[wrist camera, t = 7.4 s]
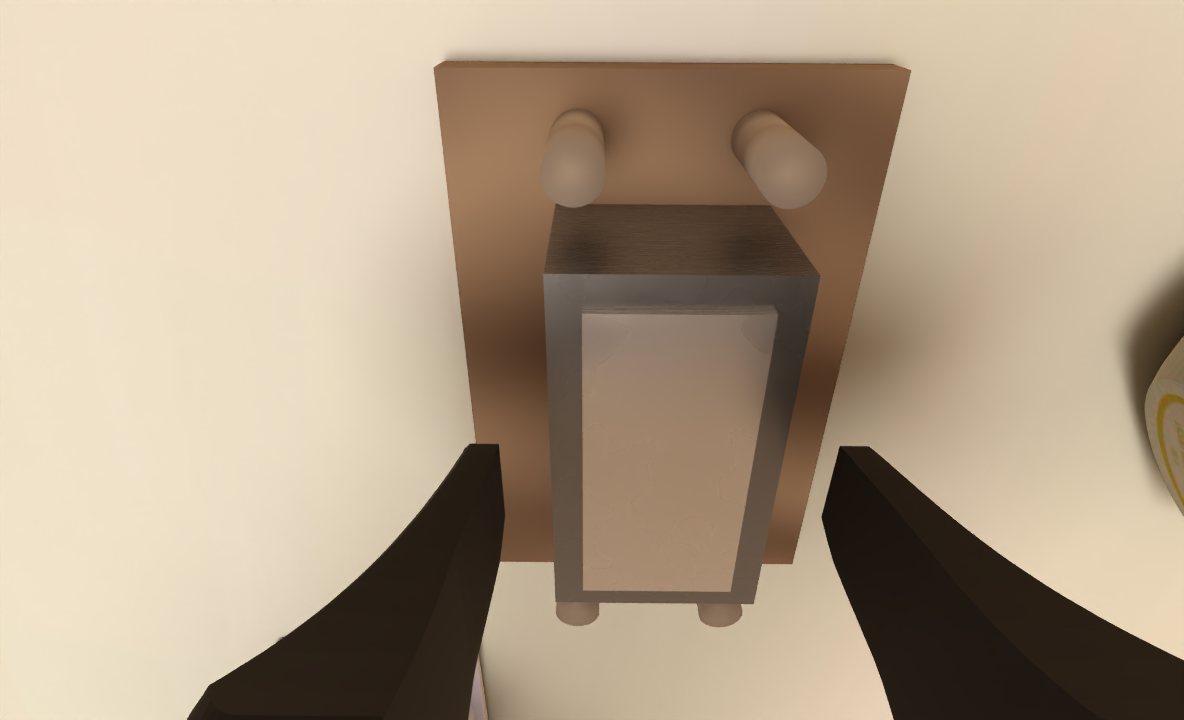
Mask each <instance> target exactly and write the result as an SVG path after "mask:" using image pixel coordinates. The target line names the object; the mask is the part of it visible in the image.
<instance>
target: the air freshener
mask: <svg viewBox="0 0 1184 720" xmlns="http://www.w3.org/2000/svg"><path fill="white" fill-rule="evenodd" d="M1145 420H1146V426H1147V432H1148V436H1149V440H1150V444H1151V447H1152V451H1153V454H1154V456H1155V459H1156V462H1157V465H1158V467H1159V470H1160V472H1161V474H1162V477H1163V479H1164V481H1165V483H1166V485H1167V487H1168V489H1169V492H1170V494H1171V496H1172V497H1173V499H1174V501H1175V503H1176V504H1177V506H1178V508H1179V510H1180V511H1181V513H1182V515H1183V516H1184V336H1183V338H1182V339H1181V340H1180V341H1179V343H1178V344H1177V345H1176V346H1175V348H1174V349H1173V350H1172V352H1171V353H1170V354H1169V356H1168V357H1167V358H1166V360H1165V361H1164V362H1163V364H1162V365H1161V367H1160V369H1159V371H1158V372H1157V374H1156V376H1155V378H1154V379H1153V381H1152V383H1151V385H1150V387H1149V389H1148V391H1147V395H1146V400H1145Z"/></svg>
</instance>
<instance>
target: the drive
mask: <svg viewBox="0 0 1184 720" xmlns="http://www.w3.org/2000/svg"><path fill="white" fill-rule="evenodd" d="M820 278H821V276H820V274H819V273H818V271H817V270H816V269H815V267H814V266H813V264H812V263H811V262H810V260H809V259H808V257H807V256H806V255H805V253H804V252H803V250H802V249H801V248H800V246H799V245H798V243H797V242H796V241H795V239H794V238H793V236H792V235H791V234H790V232H789V231H788V229H787V228H786V227H785V225H784V224H783V222H782V221H781V220H780V218H779V217H778V215H777V214H776V213H775V211H774V210H773V208H772V207H771V206H770V205H653V204H587V205H585V206H582V207H576V208H571V207H565V206H562V205H559V204H555V210H554V216H553V222H552V227H551V233H550V239H549V244H548V250H547V256H546V262H545V267H544V273H543V279H544V305H545V332H546V358H547V385H548V412H549V438H550V465H551V492H552V518H553V545H554V571H555V598H556V602H596V603H704V604H754V599H755V594H756V589H757V585H758V580H759V575H760V570H761V565H762V560H763V555H764V550H765V546H766V541H767V536H768V531H769V526H770V521H771V516H772V511H773V507H774V502H775V497H776V492H777V487H778V482H779V477H780V472H781V468H782V463H783V458H784V453H785V448H786V443H787V438H788V434H789V429H790V424H791V419H792V414H793V409H794V404H795V399H796V395H797V390H798V385H799V380H800V375H801V370H802V365H803V360H804V356H805V351H806V346H807V341H808V336H809V331H810V326H811V321H812V317H813V312H814V307H815V302H816V297H817V292H818V287H819V282H820Z"/></svg>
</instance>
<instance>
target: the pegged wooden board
mask: <svg viewBox="0 0 1184 720" xmlns="http://www.w3.org/2000/svg"><path fill="white" fill-rule="evenodd" d="M910 73H911V70H908V69H905V68H902V67H899V66H896V65H893V64H774V63H607V62H442V63H440V64H439V65H437V66H436V67H434V75H435V83H436V92H437V101H438V110H439V119H440V128H441V137H442V145H443V154H444V163H445V172H446V181H447V190H448V199H449V207H450V216H451V225H452V234H453V243H454V252H455V261H456V269H457V278H458V287H459V296H460V305H461V314H462V323H463V331H464V340H465V349H466V358H467V367H468V376H469V385H470V393H471V402H472V411H473V420H474V429H475V438H476V444H499V450H500V461H501V473H502V484H503V495H504V506H505V522H504V532H503V541H502V549H501V558H500V561H505V562H554V545H553V518H552V492H551V465H550V438H549V412H548V385H547V358H546V332H545V305H544V279H543V273H544V267H545V262H546V256H547V250H548V244H549V239H550V233H551V227H552V222H553V216H554V210H555V204H559V205H562V206H565V207H571V208H576V207H582V206H585V205H587V204H653V205H770V206H771V207H772V208H773V210H774V211H775V213H776V214H777V215H778V217H779V218H780V220H781V221H782V222H783V224H784V225H785V227H786V228H787V229H788V231H789V232H790V234H791V235H792V236H793V238H794V239H795V241H796V242H797V243H798V245H799V246H800V248H801V249H802V250H803V252H804V253H805V255H806V256H807V257H808V259H809V260H810V262H811V263H812V264H813V266H814V267H815V269H816V270H817V271H818V273H819V274H820V276H821V278H820V282H819V287H818V292H817V297H816V302H815V307H814V312H813V317H812V321H811V326H810V331H809V336H808V341H807V346H806V351H805V356H804V360H803V365H802V370H801V375H800V380H799V385H798V390H797V395H796V399H795V404H794V409H793V414H792V419H791V424H790V429H789V434H788V438H787V443H786V448H785V453H784V458H783V463H782V468H781V472H780V477H779V482H778V487H777V492H776V497H775V502H774V507H773V511H772V516H771V521H770V526H769V531H768V536H767V541H766V546H765V550H764V555H763V560H762V564H792V563H793V559H794V555H795V551H796V546H797V542H798V538H799V534H800V530H801V526H802V522H803V517H804V513H805V509H806V505H807V501H808V497H809V492H810V488H811V484H812V480H813V476H814V472H815V468H816V463H817V459H818V455H819V451H820V447H821V443H822V439H823V434H824V430H825V426H826V422H827V418H828V414H829V410H830V405H831V401H832V397H833V393H834V389H835V385H836V380H837V376H838V372H839V368H840V364H841V360H842V356H843V351H844V347H845V343H846V339H847V335H848V331H849V327H850V322H851V318H852V314H853V310H854V306H855V302H856V298H857V293H858V289H859V285H860V281H861V277H862V273H863V268H864V264H865V260H866V256H867V252H868V248H869V244H870V239H871V235H872V231H873V227H874V223H875V219H876V215H877V210H878V206H879V202H880V198H881V194H882V190H883V185H884V181H885V177H886V173H887V169H888V165H889V161H890V156H891V152H892V148H893V144H894V140H895V136H896V132H897V127H898V123H899V119H900V115H901V111H902V107H903V103H904V98H905V94H906V90H907V86H908V82H909V78H910ZM697 605H698V612H699V617H700V619H701V621H702V622H703V623H705V624H706V625H709V626H712V627H725V626H729V625H732V624H734V623H735V622H737V621H738V620H739V619H740V617H741V616H742V608H741V604H704V603H697ZM556 614H557V617H558V618H559V619H560V620H561V621H562V622H564V623H566V624H569V625H573V626H583V625H587V624H590V623H592V622H593V621H595V620H596V619H597V617H598V615H599V603H596V602H557V605H556Z"/></svg>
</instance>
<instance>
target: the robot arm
mask: <svg viewBox="0 0 1184 720" xmlns="http://www.w3.org/2000/svg"><path fill="white" fill-rule="evenodd" d="M822 521H823V525H824V529H825V533H826V537H827V541H828V545H829V548H830V552H831V555H832V559H833V562H834V565H835V567H836V570H837V572H838V575H839V577H840V579H841V582H842V584H843V587H844V589H845V592H846V594H847V596H848V599H849V601H850V604H851V606H852V608H853V611H854V613H855V615H856V618H857V620H858V622H859V625H860V627H861V630H862V632H863V634H864V637H865V639H866V641H867V644H868V646H869V649H870V651H871V653H872V656H873V658H874V661H875V663H876V666H877V669H878V671H879V674H880V677H881V680H882V682H883V686H884V689H885V692H886V696H887V699H888V702H889V705H890V709H891V712H892V715H893V718H894V720H1184V660H1182V659H1180V658H1178V657H1176V656H1174V655H1171V654H1169V653H1167V652H1165V651H1163V650H1162V649H1160V648H1158V647H1156V646H1154V645H1152V644H1150V643H1148V642H1146V641H1144V640H1142V639H1140V638H1138V637H1136V636H1134V635H1132V634H1130V633H1128V632H1126V631H1124V630H1122V629H1120V628H1119V627H1117V626H1115V625H1113V624H1111V623H1109V622H1107V621H1106V620H1104V619H1102V618H1100V617H1098V616H1097V615H1095V614H1093V613H1092V612H1090V611H1088V610H1086V609H1085V608H1083V607H1081V606H1079V605H1078V604H1076V603H1074V602H1073V601H1071V600H1069V599H1067V598H1066V597H1064V596H1062V595H1061V594H1059V593H1058V592H1056V591H1054V590H1053V589H1051V588H1049V587H1048V586H1046V585H1045V584H1043V583H1042V582H1040V581H1039V580H1037V579H1036V578H1034V577H1033V576H1031V575H1030V574H1028V573H1027V572H1025V571H1024V570H1022V569H1021V568H1019V567H1018V566H1016V565H1015V564H1013V563H1012V562H1010V561H1009V560H1007V559H1006V558H1004V557H1003V556H1002V555H1000V554H999V553H997V552H996V551H995V550H993V549H992V548H991V547H989V546H988V545H987V544H985V543H984V542H983V541H981V540H980V539H979V538H977V537H976V536H975V535H974V534H972V533H971V532H970V531H968V530H967V529H966V528H964V527H963V526H962V525H961V524H959V523H958V522H957V521H956V520H954V519H953V518H952V517H951V516H950V515H948V514H947V513H946V512H945V511H943V510H942V509H941V508H940V507H939V506H937V505H936V504H935V503H934V502H933V501H932V500H930V499H929V498H928V497H927V496H926V495H925V494H923V493H922V492H921V491H920V490H919V489H918V488H916V487H915V486H914V485H913V484H912V483H911V482H910V481H908V480H907V479H906V478H905V477H904V476H903V475H902V474H900V473H899V472H898V471H897V470H896V469H895V468H894V467H892V466H891V465H890V464H889V463H888V462H887V461H886V460H884V459H883V458H882V457H881V456H880V455H879V454H877V453H876V452H875V451H874V450H873V449H871V448H870V447H869V446H840V448H839V451H838V455H837V459H836V463H835V467H834V471H833V475H832V478H831V482H830V486H829V490H828V494H827V498H826V502H825V506H824V509H823V513H822ZM504 522H505V506H504V495H503V484H502V473H501V461H500V450H499V444H469V445H468V446H467V447H466V448H465V449H464V451H463V453H462V454H461V456H460V457H459V459H458V460H457V462H456V463H455V465H454V466H453V468H452V469H451V471H450V472H449V474H448V475H447V476H446V478H445V479H444V481H443V482H442V483H441V485H440V486H439V487H438V489H437V490H436V491H435V493H434V494H433V495H432V497H431V498H430V499H429V500H428V502H427V503H426V504H425V506H424V507H423V508H422V509H421V511H420V512H419V513H418V514H417V516H416V517H415V518H414V519H413V520H412V521H411V523H410V524H409V525H408V526H407V527H406V528H405V529H404V531H403V532H402V533H401V534H400V535H399V536H398V537H397V539H396V540H395V541H394V542H393V543H392V544H391V545H390V546H389V547H388V548H387V550H386V551H385V552H384V553H383V554H382V555H381V556H380V557H379V558H378V559H377V560H376V561H375V562H374V563H373V564H372V565H371V566H370V567H369V568H368V569H367V570H366V571H365V572H363V573H362V574H361V575H360V576H359V577H358V578H357V579H356V580H355V581H354V582H353V583H351V584H350V585H349V586H348V587H347V588H346V589H345V590H344V591H342V592H341V593H340V594H339V595H338V596H337V597H336V598H334V599H333V600H332V601H331V602H330V603H329V604H327V605H326V606H325V607H324V608H322V609H321V610H320V611H319V612H317V613H316V614H315V615H314V616H312V617H311V618H310V619H308V620H307V621H306V622H304V623H303V624H302V625H300V626H299V627H298V628H296V629H295V630H293V631H292V632H291V633H289V634H288V635H287V636H285V637H284V638H283V639H281V640H280V641H278V642H277V643H276V644H274V645H273V646H271V647H270V648H268V649H267V650H265V651H264V652H262V653H261V654H259V655H257V656H256V657H254V658H253V659H251V660H249V661H248V662H246V663H245V664H243V665H241V666H240V667H238V668H237V669H235V670H234V671H232V672H230V673H229V674H227V675H226V676H224V677H222V678H221V679H219V680H217V681H216V682H214V683H212V684H210V685H209V686H208V688H207V689H206V691H205V693H204V694H203V696H202V697H201V699H200V700H199V701H198V703H197V704H196V706H195V707H194V709H193V710H192V712H191V713H190V715H189V717H188V718H187V720H488V716H487V709H486V702H485V695H484V688H483V681H482V673H481V666H480V659H479V650H480V645H481V641H482V637H483V632H484V628H485V624H486V620H487V615H488V611H489V607H490V602H491V598H492V594H493V589H494V585H495V581H496V576H497V572H498V567H499V563H500V558H501V549H502V541H503V532H504Z"/></svg>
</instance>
